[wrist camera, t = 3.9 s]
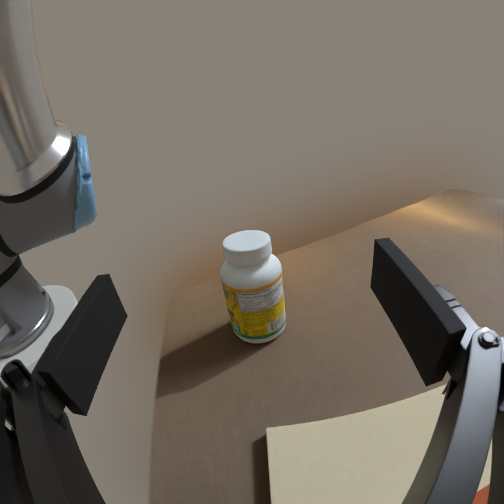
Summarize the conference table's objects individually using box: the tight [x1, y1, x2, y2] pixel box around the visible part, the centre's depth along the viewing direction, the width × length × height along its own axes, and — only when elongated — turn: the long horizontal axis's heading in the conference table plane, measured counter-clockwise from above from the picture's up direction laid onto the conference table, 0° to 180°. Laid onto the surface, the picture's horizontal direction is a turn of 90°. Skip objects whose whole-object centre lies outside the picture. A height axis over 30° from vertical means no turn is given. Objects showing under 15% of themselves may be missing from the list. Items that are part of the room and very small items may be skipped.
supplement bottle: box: [220, 230, 286, 343], centre depth 26 cm, size 5×5×10 cm
